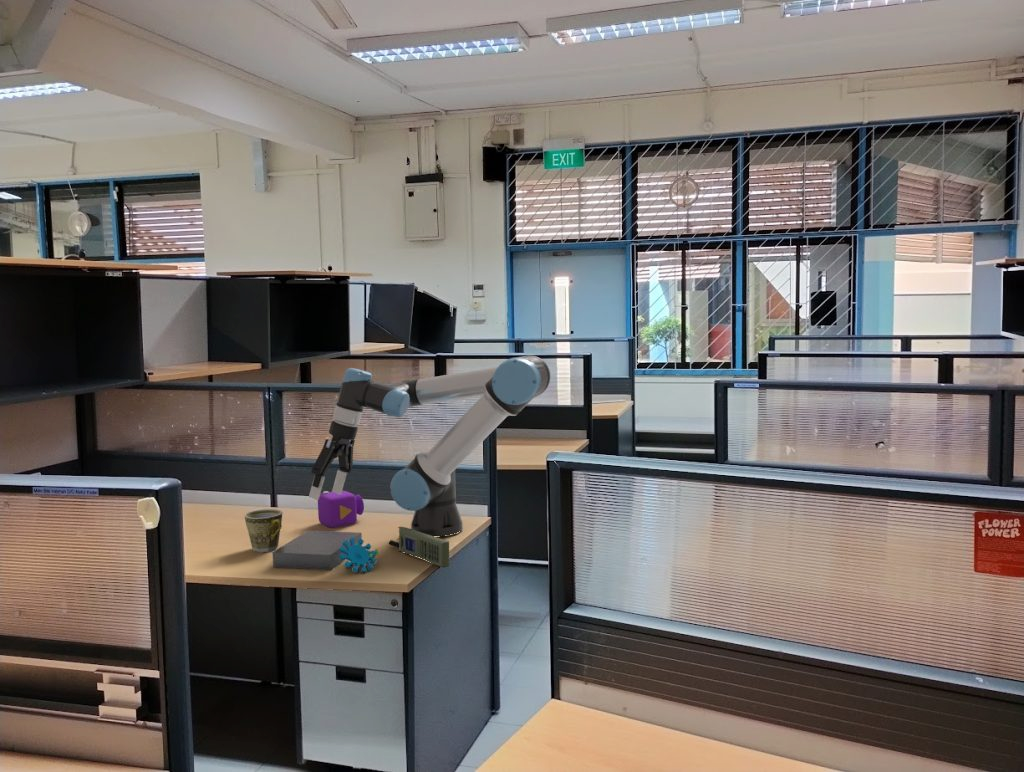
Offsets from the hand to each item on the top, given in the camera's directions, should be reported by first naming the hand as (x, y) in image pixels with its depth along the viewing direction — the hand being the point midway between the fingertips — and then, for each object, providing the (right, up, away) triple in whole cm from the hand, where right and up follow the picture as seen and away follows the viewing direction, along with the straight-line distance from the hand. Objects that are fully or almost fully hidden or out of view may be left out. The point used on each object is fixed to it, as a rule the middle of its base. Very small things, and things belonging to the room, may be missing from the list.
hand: (325, 495), depth 225 cm
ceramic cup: (-15, -15, -4) cm, 21 cm away
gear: (+14, -16, -22) cm, 31 cm away
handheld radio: (+27, -15, -13) cm, 34 cm away
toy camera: (0, -12, +22) cm, 25 cm away
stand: (+1, -15, -12) cm, 19 cm away
